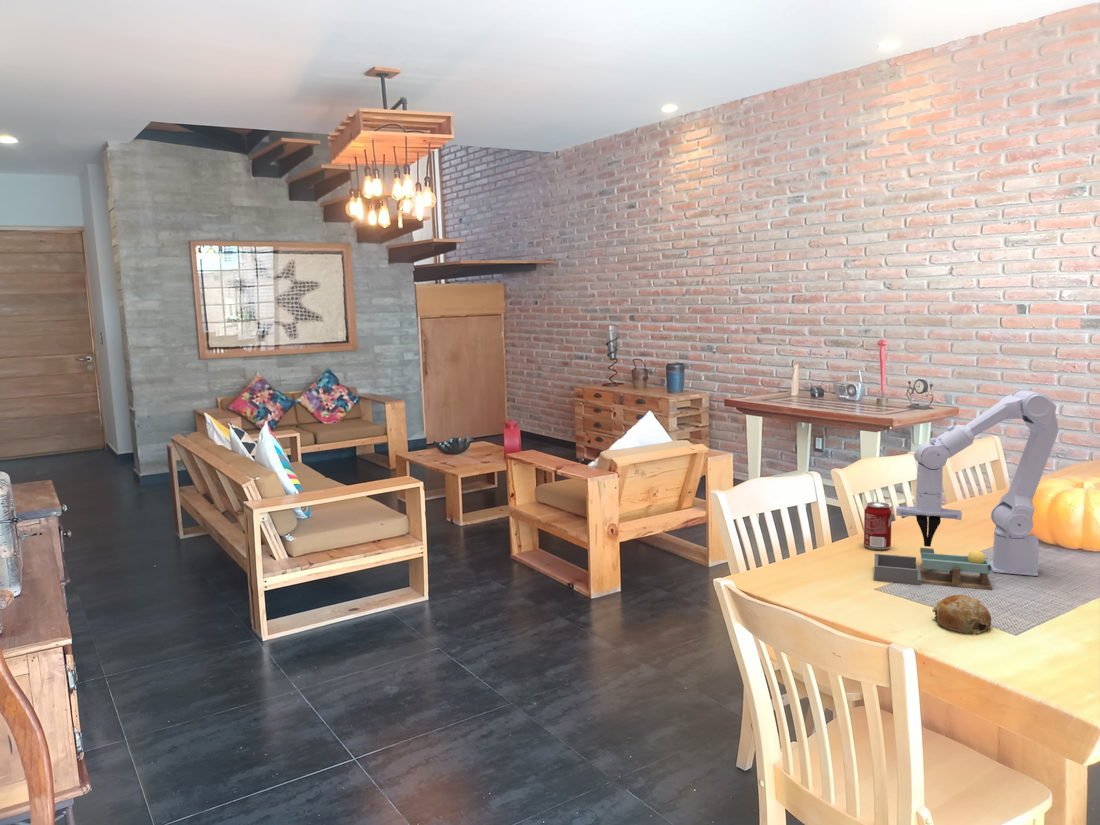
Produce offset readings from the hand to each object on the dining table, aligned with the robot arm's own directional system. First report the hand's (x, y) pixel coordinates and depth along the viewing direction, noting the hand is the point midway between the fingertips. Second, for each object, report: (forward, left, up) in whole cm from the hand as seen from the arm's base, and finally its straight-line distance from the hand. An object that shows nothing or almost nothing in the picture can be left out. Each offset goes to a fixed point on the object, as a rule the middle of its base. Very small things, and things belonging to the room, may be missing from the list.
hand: (927, 545), depth 195 cm
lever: (-6, +5, -2) cm, 8 cm away
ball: (-10, +9, 0) cm, 13 cm away
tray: (+7, +9, -6) cm, 13 cm away
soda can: (+11, -14, -6) cm, 19 cm away
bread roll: (-4, +37, -6) cm, 38 cm away
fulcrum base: (-6, +9, -6) cm, 12 cm away
